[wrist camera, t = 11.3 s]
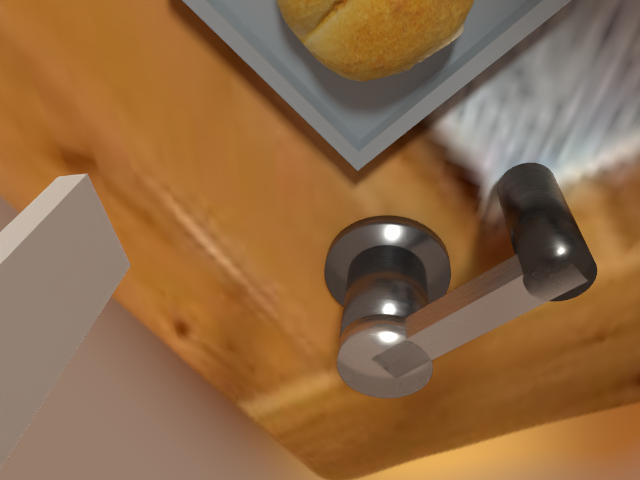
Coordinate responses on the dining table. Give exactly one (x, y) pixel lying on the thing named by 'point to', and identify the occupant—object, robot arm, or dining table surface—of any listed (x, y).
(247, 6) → the tray
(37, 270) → the robot arm
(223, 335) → the dining table surface
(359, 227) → the crank hub
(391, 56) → the bread roll
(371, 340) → the crank
